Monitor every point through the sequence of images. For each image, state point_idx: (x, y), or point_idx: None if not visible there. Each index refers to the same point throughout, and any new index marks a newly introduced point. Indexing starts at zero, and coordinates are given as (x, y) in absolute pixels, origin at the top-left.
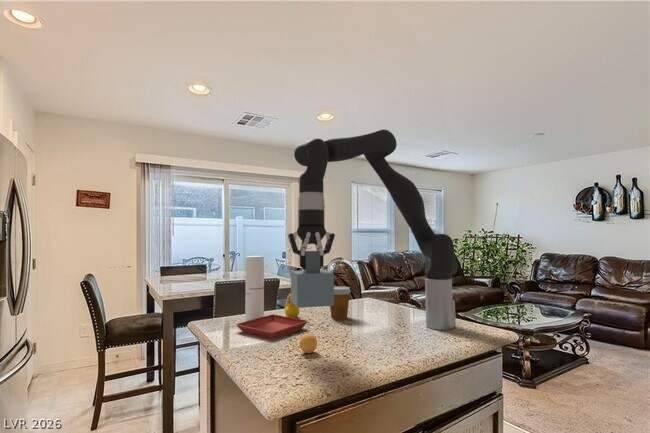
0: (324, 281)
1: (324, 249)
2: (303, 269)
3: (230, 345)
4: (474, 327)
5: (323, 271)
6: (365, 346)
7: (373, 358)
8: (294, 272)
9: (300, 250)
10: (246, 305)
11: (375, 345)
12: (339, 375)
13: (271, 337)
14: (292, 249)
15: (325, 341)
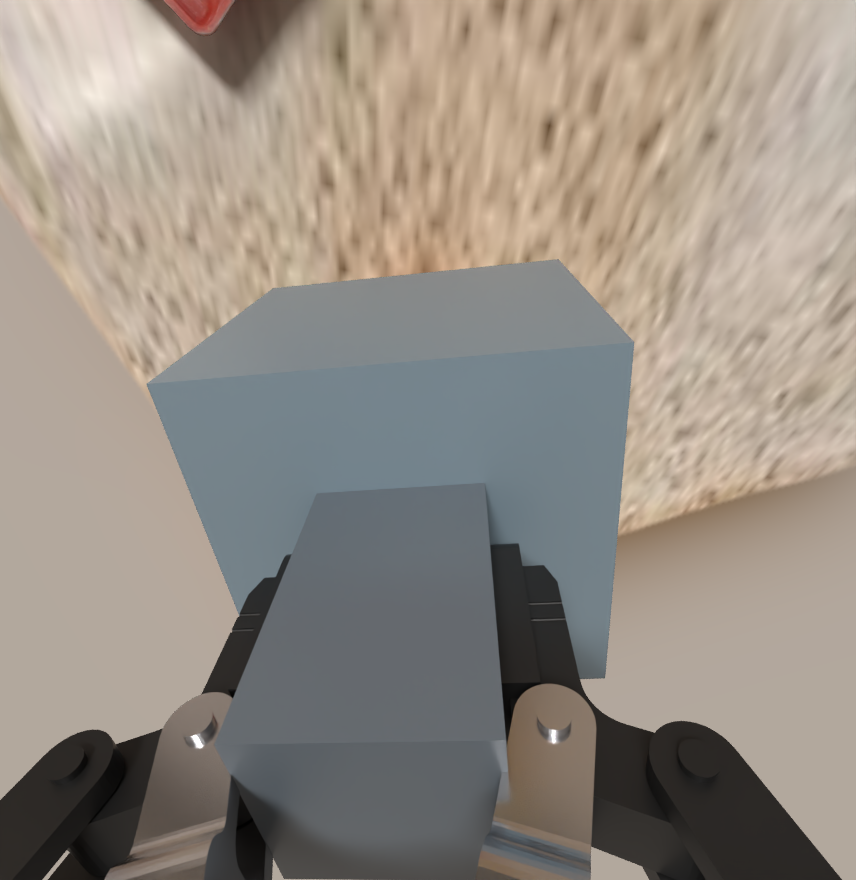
0: None
1: (657, 829)
2: (312, 515)
3: (14, 106)
4: None
5: (556, 528)
6: (715, 268)
7: (665, 422)
8: (223, 558)
9: (165, 801)
10: None
11: (773, 262)
12: None
13: (213, 2)
14: (7, 825)
15: (542, 130)
